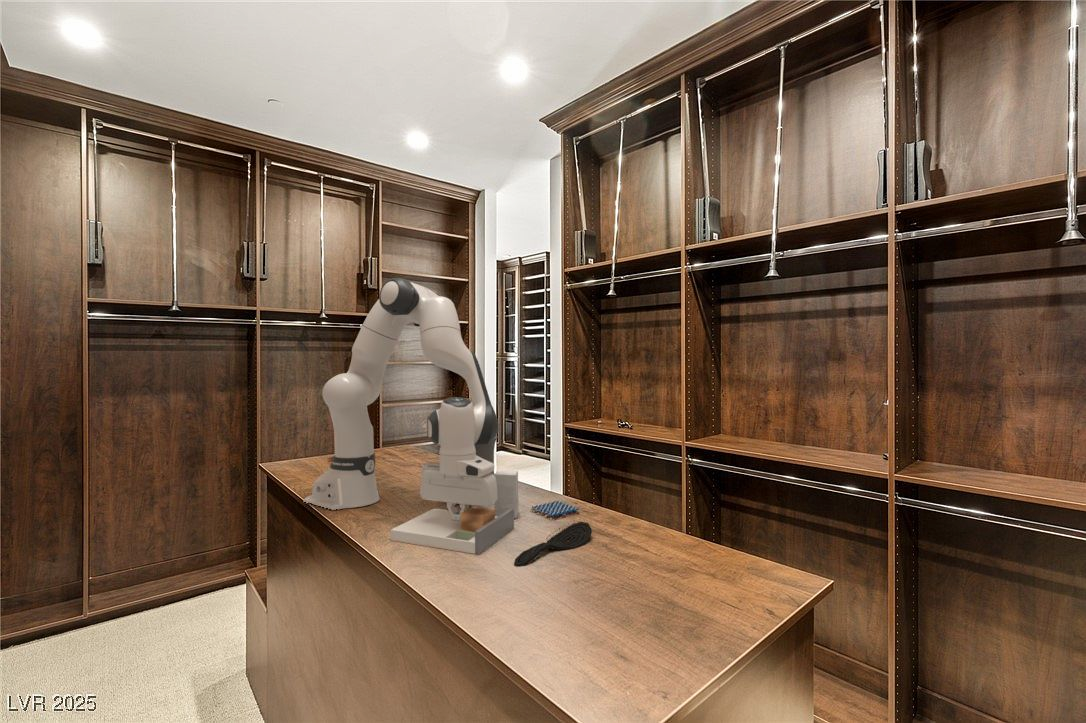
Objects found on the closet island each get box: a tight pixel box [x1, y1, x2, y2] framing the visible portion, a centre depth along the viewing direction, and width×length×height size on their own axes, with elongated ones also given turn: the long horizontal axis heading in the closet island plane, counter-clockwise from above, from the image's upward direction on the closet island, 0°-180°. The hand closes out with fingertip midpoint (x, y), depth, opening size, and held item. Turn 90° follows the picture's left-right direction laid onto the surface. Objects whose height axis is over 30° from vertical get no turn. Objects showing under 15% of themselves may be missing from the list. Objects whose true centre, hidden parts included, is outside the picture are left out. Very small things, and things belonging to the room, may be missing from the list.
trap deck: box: [390, 508, 515, 555], centre depth 125 cm, size 24×18×5 cm
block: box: [461, 506, 495, 532], centre depth 123 cm, size 6×6×4 cm
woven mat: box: [530, 500, 581, 521], centre depth 142 cm, size 10×11×2 cm
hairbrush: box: [513, 518, 593, 568], centre depth 116 cm, size 8×4×25 cm
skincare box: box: [494, 470, 520, 520], centre depth 139 cm, size 6×4×12 cm
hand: (458, 520), depth 125 cm, fingers closed
